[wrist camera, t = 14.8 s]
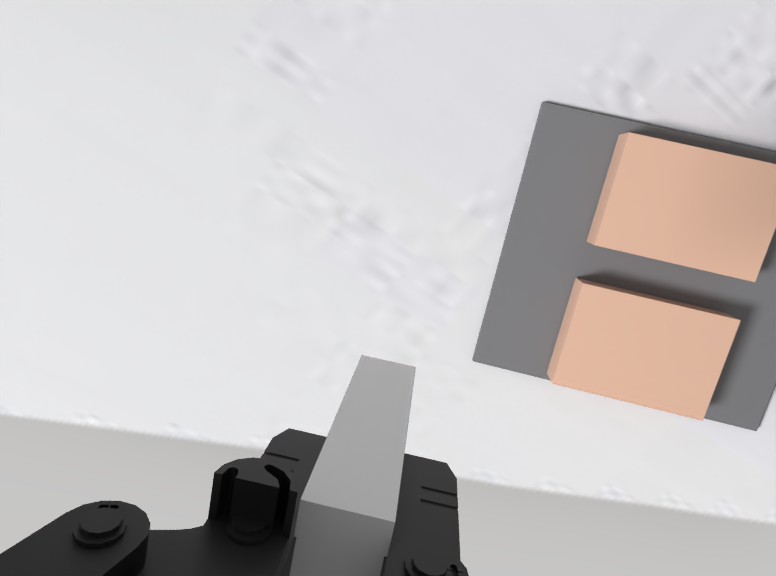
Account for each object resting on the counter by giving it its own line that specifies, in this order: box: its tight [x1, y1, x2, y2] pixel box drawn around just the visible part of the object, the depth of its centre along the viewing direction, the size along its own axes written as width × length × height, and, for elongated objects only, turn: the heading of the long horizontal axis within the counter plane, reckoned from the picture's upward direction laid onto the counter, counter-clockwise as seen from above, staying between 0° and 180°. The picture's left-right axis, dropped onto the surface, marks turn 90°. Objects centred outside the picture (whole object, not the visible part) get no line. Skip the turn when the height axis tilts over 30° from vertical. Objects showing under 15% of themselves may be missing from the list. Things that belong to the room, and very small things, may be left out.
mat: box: [473, 102, 776, 431], centre depth 36 cm, size 18×20×1 cm
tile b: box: [547, 278, 741, 421], centre depth 36 cm, size 7×2×10 cm
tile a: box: [586, 132, 776, 282], centre depth 34 cm, size 7×2×10 cm
